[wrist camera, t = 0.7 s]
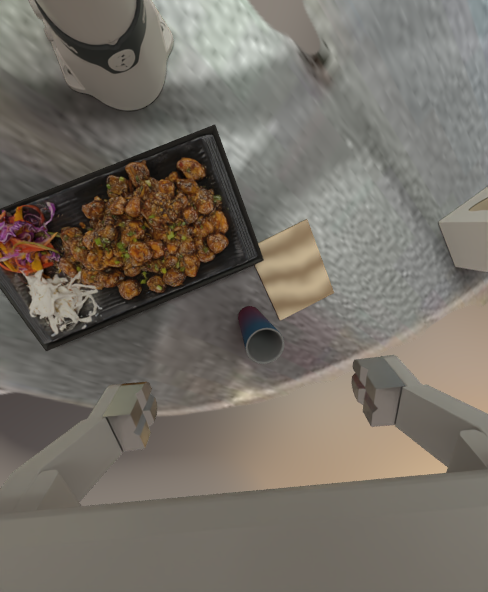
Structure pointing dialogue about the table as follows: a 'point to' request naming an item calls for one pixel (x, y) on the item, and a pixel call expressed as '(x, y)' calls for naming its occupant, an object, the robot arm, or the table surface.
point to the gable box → (468, 233)
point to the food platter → (125, 239)
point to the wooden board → (293, 270)
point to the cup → (260, 336)
